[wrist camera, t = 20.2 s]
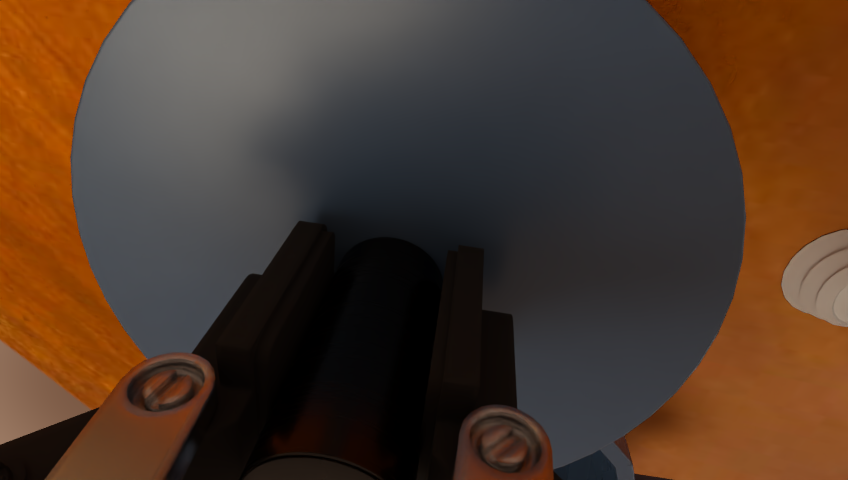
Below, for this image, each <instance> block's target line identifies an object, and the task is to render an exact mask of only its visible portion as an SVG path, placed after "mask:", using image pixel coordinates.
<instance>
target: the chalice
mask: <svg viewBox="0 0 848 480" xmlns="http://www.w3.org/2000/svg"><path fill="white" fill-rule="evenodd" d="M781 285H782V290H783V294H784V297H785V298H786V299H787V301H788V302H789V303H790V304H791V305H792V306H793V307H795V308H797V309H799V310H801V311H802V312H804V313H810V314H811V315H813V316H815V317H817V318H819V319H823V320H825V321H827V322H829V323H831V324H833V325H838V326H844V327H848V230H841V231H837V232H834V233H831V234H828V235H825V236H822V237H820V238H818V239H817V240H815V241H813V242H811V243H810V244H808V245H806V246H805V247H804V248H803V249H801V250H800V251H799V252H798V253H797V254H796V255H795V256H794V257H793V258H792V259H791V261H790V262H789V264H788V266H787V267H786V269H785V271H784V274H783V279H782V284H781Z"/></svg>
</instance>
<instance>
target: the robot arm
mask: <svg viewBox="0 0 848 480" xmlns="http://www.w3.org/2000/svg"><path fill="white" fill-rule="evenodd" d="M334 255H335V234H334V232H328V231H327V227H326V225H325V224H319V223H313V222H306V221H299V222H298V223H297V224H296V226H295V227H294V228H293V230H292V231H291V233H290V234H289V236H288V237H287V239H286V240H285V242H284V243H283V245H282V246H281V248H280V249H279V251H278V252H277V253H276V255H275V256H274V258H273V259H272V261H271V262H270V264H269V265H268V267H267V268H266V270H265V271H264V273H263V274H262V275H260V274H254V273H252V274H249V275H248V276H247V277H246V278H245V280H244V281H243V282H242V284H241V285H240V287H239V288H238V289H237V291H236V292H235V293H234V295H233V296H232V298H231V299H230V300H229V302H228V303H227V305H226V306H225V307H224V309H223V310H222V311H221V313H220V314H219V316H218V317H217V318H216V320H215V321H214V323H213V324H212V325H211V327H210V328H209V330H208V331H207V332H206V334H205V335H204V336H203V338H202V339H201V341H200V342H199V343H198V345H197V346H196V348H195V349H194V350H193V352H192V353H184V352H173V353H167V354H162V355H158V356H155V357H152V358H150V359H147V360H144V361H143V362H141V363H140V364H138V365H136V366H135V367H133V368H132V369H131V370H130V371H129V372H128V373H127V374H126V375H125V376H124V377H123V378H122V379H121V380H120V382H119V383H118V384H117V385H116V387H115V388H114V389H113V391H112V392H111V393H110V395H109V396H108V397H107V399H106V400H105V401H104V402H103V404H102V405H101V406H100V407H99V408H96V409H94V410H91V411H88V412H86V413H83V414H80V415H78V416H75V417H73V418H70V419H67V420H65V421H62V422H59V423H57V424H54V425H51V426H49V427H46V428H44V429H41V430H38V431H35V432H33V433H30V434H28V435H25V436H22V437H20V438H17V439H14V440H12V441H9V442H6V443H4V444H1V445H0V480H239V479H240V476H241V474H242V472H243V470H244V468H245V466H246V463H247V461H248V459H249V457H250V455H251V453H252V451H253V448H254V446H255V444H256V442H257V440H258V438H259V436H260V433H261V431H262V429H263V427H264V425H265V423H266V421H267V418H268V416H269V414H270V412H271V410H272V408H273V406H274V403H275V401H276V399H277V397H278V395H279V393H280V391H281V388H282V386H283V384H284V382H285V380H286V378H287V376H288V373H289V371H290V369H291V367H292V365H293V363H294V361H295V358H296V356H297V354H298V352H299V350H300V348H301V346H302V343H303V341H304V339H305V337H306V335H307V333H308V331H309V328H310V326H311V324H312V322H313V320H314V318H315V316H316V313H317V311H318V309H319V307H320V305H321V303H322V301H323V298H324V296H325V294H326V292H327V290H328V288H329V286H330V283H331V281H332V279H333V277H334ZM483 266H484V249H482V248H476V247H469V246H463V245H459V246H458V251H452V250H448V252H447V259H446V265H445V272H444V278H443V284H442V291H441V298H440V304H439V311H438V318H437V325H436V331H435V338H434V345H433V352H432V358H431V365H430V372H429V379H428V385H427V392H426V399H425V406H424V412H423V419H422V426H421V433H420V435H421V451H420V458H419V465H418V472H417V480H562V479H561V478H560V477H559V476H558V475H557V474H556V473H555V472H554V471H553V458H552V448H551V444H550V440H549V437H548V435H547V434H546V432H545V430H544V429H543V427H542V426H541V425H540V424H539V423H538V422H537V421H536V420H535V419H534V418H533V417H531V416H530V415H528V414H526V413H525V412H523V411H521V410H519V409H517V390H516V369H515V349H514V328H513V316H512V314H507V313H501V312H494V311H488V310H482V296H483Z"/></svg>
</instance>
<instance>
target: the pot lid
mask: <svg viewBox="0 0 848 480" xmlns="http://www.w3.org/2000/svg"><path fill="white" fill-rule="evenodd" d="M71 176H72V197H73V202H74V207H75V213H76V218H77V223H78V228H79V233H80V236H81V239H82V242H83V246H84V249H85V252H86V255H87V258H88V261H89V264H90V267H91V269H92V271H93V273H94V275H95V278H96V280H97V282H98V284H99V286H100V288H101V290H102V292H103V294H104V297H105V299H106V301H107V302H108V304H109V305H110V307H111V309H112V310H113V312H114V314H115V315H116V317H117V318H118V320H119V322H120V323H121V325H122V326H123V328H124V330H125V331H126V332H127V334H128V335H129V336H130V337H131V339H132V340H133V341H134V343H135V344H136V345H137V346H138V348H139V349H140V350H141V352H142V353H143V354H144V355H145V357H146V358H147V359H150V358H152V357H155V356H158V355H162V354H167V353H173V352H184V353H192V352H193V350H194V349H195V348H196V346H197V345H198V343H199V342H200V341H201V339H202V338H203V336H204V335H205V334H206V332H207V331H208V330H209V328H210V327H211V325H212V324H213V323H214V321H215V320H216V318H217V317H218V316H219V314H220V313H221V311H222V310H223V309H224V307H225V306H226V305H227V303H228V302H229V300H230V299H231V298H232V296H233V295H234V293H235V292H236V291H237V289H238V288H239V287H240V285H241V284H242V282H243V281H244V280H245V278H246V277H247V276H248V275H249V274H252V273H254V274H260V275H262V274H263V273H264V271H265V270H266V268H267V267H268V265H269V264H270V262H271V261H272V259H273V258H274V256H275V255H276V253H277V252H278V251H279V249H280V248H281V246H282V245H283V243H284V242H285V240H286V239H287V237H288V236H289V234H290V233H291V231H292V230H293V228H294V227H295V226H296V224H297V223H298V222H299V221H306V222H313V223H319V224H325V225H326V227H327V231H328V232H334V234H335V255H334V277H333V279H332V281H331V283H330V286H329V288H328V290H327V292H326V294H325V296H324V298H323V301H322V303H321V305H320V307H319V309H318V311H317V313H316V316H315V318H314V320H313V322H312V324H311V326H310V328H309V331H308V333H307V335H306V337H305V339H304V341H303V343H302V346H301V348H300V350H299V352H298V354H297V356H296V358H295V361H294V363H293V365H292V367H291V369H290V371H289V373H288V376H287V378H286V380H285V382H284V384H283V386H282V388H281V391H280V393H279V395H278V397H277V399H276V401H275V403H274V406H273V408H272V410H271V412H270V414H269V416H268V418H267V421H266V423H265V425H264V427H263V429H262V431H261V433H260V436H259V438H258V440H257V442H256V444H255V446H254V448H253V451H252V453H251V455H250V457H249V459H248V461H247V463H246V466H245V468H244V470H243V472H242V474H241V476H240V479H239V480H417V472H418V465H419V458H420V451H421V435H420V433H421V426H422V419H423V412H424V406H425V399H426V392H427V385H428V379H429V372H430V365H431V358H432V352H433V345H434V338H435V331H436V325H437V318H438V311H439V304H440V298H441V291H442V284H443V278H444V272H445V265H446V259H447V252H448V250H452V251H458V246H459V245H463V246H469V247H476V248H482V249H484V266H483V296H482V310H488V311H494V312H501V313H507V314H512V316H513V328H514V349H515V369H516V390H517V409H519V410H521V411H523V412H525V413H526V414H528V415H530V416H531V417H533V418H534V419H535V420H536V421H537V422H538V423H539V424H540V425H541V426H542V427H543V429H544V430H545V432H546V434H547V435H548V437H549V440H550V444H551V448H552V458H553V469H556V468H559V467H562V466H565V465H567V464H569V463H572V462H574V461H576V460H579V459H581V458H583V457H586V456H588V455H590V454H593V453H595V452H596V451H598V450H600V449H602V448H603V447H605V446H607V445H609V444H610V443H612V442H614V441H616V440H618V439H619V438H621V437H623V436H624V435H626V434H627V433H628V432H630V431H631V430H632V429H634V428H635V427H637V426H638V425H639V424H641V423H642V422H643V421H645V420H646V419H648V418H649V417H650V416H651V415H653V414H654V413H655V412H656V411H657V410H658V409H659V408H660V407H661V406H662V405H663V404H664V403H665V402H666V401H667V400H669V399H670V398H671V397H672V396H673V395H674V394H675V393H676V392H677V391H678V390H679V388H680V387H681V386H682V385H683V383H684V382H685V381H686V380H687V379H688V377H689V376H690V375H691V374H692V373H693V371H694V370H695V369H696V368H697V366H698V365H699V364H700V362H701V360H702V359H703V357H704V356H705V354H706V352H707V351H708V349H709V347H710V346H711V344H712V342H713V341H714V339H715V338H716V336H717V334H718V332H719V330H720V327H721V325H722V323H723V320H724V318H725V316H726V313H727V311H728V309H729V306H730V304H731V301H732V299H733V296H734V292H735V288H736V284H737V280H738V276H739V272H740V267H741V263H742V259H743V246H744V234H745V222H746V212H745V200H744V188H743V176H742V170H741V166H740V163H739V159H738V155H737V151H736V147H735V143H734V139H733V135H732V131H731V128H730V125H729V123H728V121H727V119H726V116H725V114H724V112H723V110H722V107H721V105H720V103H719V101H718V98H717V96H716V94H715V92H714V89H713V87H712V85H711V83H710V81H709V79H708V78H707V76H706V75H705V73H704V72H703V70H702V69H701V67H700V66H699V64H698V63H697V61H696V60H695V58H694V57H693V55H692V54H691V52H690V51H689V49H688V48H687V46H686V45H685V43H684V41H683V40H682V38H681V37H680V36H679V35H678V34H677V33H676V32H675V31H674V30H673V29H672V28H671V26H670V25H669V24H668V23H667V22H666V21H665V20H664V19H663V18H662V17H661V16H660V14H659V13H658V12H657V11H656V10H655V9H654V8H653V7H652V6H651V5H650V4H649V3H648V1H647V0H132V1H131V2H130V3H129V5H128V6H127V8H126V9H125V10H124V12H123V13H122V15H121V16H120V18H119V19H118V21H117V22H116V23H115V25H114V26H113V28H112V29H111V31H110V32H109V34H108V35H107V36H106V38H105V39H104V41H103V43H102V45H101V47H100V50H99V52H98V54H97V56H96V58H95V60H94V63H93V65H92V67H91V69H90V71H89V73H88V76H87V78H86V80H85V84H84V87H83V91H82V95H81V98H80V102H79V106H78V109H77V113H76V117H75V122H74V132H73V141H72V151H71Z"/></svg>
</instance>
